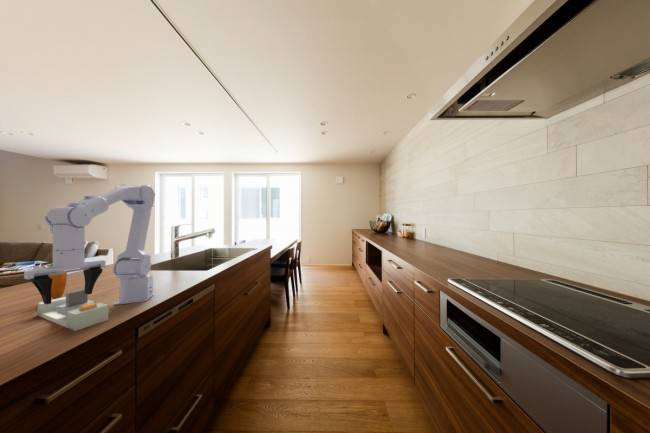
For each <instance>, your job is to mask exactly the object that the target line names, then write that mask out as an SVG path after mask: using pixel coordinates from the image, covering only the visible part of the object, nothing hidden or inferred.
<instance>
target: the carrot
mask: <svg viewBox="0 0 650 433" xmlns="http://www.w3.org/2000/svg"><path fill="white" fill-rule="evenodd" d="M52 266H53V262H52V263H49V264H47V265H46V267H52ZM63 271H65V270H63ZM60 272H61V271H60ZM53 273H54V272H53ZM67 276H68V274H67V273H62V274H55V275H49V276H48V277H50V278H51V279H53V280H52V286H51V299H52V300H53V299H58V298H62V296H63V294H64V292H65V289H66V285H67Z"/></svg>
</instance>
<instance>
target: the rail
mask: <svg viewBox="0 0 650 433" xmlns="http://www.w3.org/2000/svg"><path fill="white" fill-rule="evenodd" d="M64 304H66V296H63V297H62V296H61V297H60V298H58V299H53V298H52V299H51V304H44V303H43V301H40V302H37V316H38V317H39V318H42V319H44V320H47V321H49V322H53V323H54V324H57V325H60V326H62V327H64V328H67V329H68V330H69V329H70V330H71V331H74V332H76V331H79V330H82V329H85V328H88V327H91V326H94V325H97V324H100V323H102V322H106V321H109V310H110V309H109V308H110V307H109V304H107V303H103V302H97V303H96V304H97V308H93V309H90V310H86V311H81V310H80V308H78V309H75V310H71V311H67V316H65V315H62V314H59V313H58V306H60V305H64Z"/></svg>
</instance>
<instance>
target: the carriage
mask: <svg viewBox="0 0 650 433" xmlns="http://www.w3.org/2000/svg"><path fill="white" fill-rule="evenodd" d="M65 297H66V304H64V305H60V306H58V313H59V314H62V315H65V316H67V311H71V310H75V309H78V308H80V306H81V305H85V304H89V303H95V304H96V301H94V300H90V299H88V298H89V296H88V294H85V288H81V289H77V290H71V291H66V292H65Z"/></svg>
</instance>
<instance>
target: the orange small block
mask: <svg viewBox="0 0 650 433" xmlns="http://www.w3.org/2000/svg"><path fill="white" fill-rule="evenodd" d="M93 308H97V303H96V302H95V303H89V304H85V305H81V306H80V310H81V311H86V310H90V309H93Z"/></svg>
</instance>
